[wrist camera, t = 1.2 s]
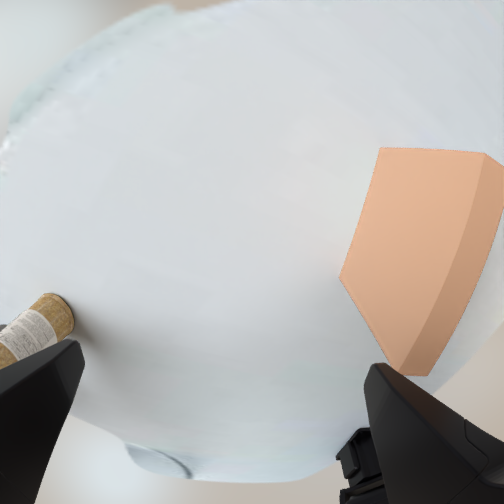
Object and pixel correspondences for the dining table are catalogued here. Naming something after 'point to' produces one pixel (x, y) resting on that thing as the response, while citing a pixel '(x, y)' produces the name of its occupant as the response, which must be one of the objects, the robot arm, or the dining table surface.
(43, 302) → the sprinkles bottle
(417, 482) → the robot arm
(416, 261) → the tile
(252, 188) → the dining table surface
